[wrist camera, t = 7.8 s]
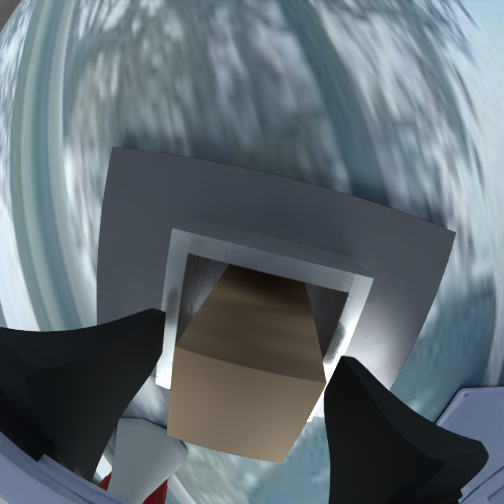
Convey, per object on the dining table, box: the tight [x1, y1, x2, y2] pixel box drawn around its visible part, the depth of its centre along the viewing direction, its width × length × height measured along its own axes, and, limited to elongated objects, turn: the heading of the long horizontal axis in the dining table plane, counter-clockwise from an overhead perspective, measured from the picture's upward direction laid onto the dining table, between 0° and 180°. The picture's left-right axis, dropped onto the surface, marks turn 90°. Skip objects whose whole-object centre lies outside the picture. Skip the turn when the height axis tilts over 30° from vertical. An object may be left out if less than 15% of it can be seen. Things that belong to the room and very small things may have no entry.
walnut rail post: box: [167, 264, 327, 463], centre depth 11 cm, size 4×4×8 cm
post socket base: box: [97, 147, 456, 422], centre depth 14 cm, size 20×14×4 cm
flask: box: [107, 418, 188, 504], centre depth 15 cm, size 7×7×10 cm
